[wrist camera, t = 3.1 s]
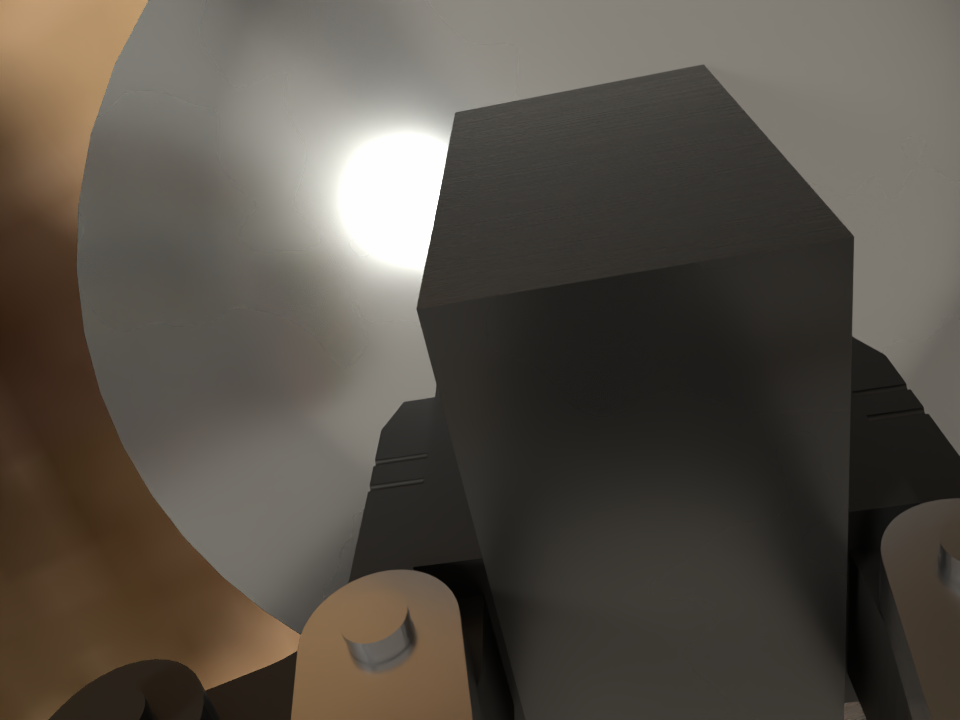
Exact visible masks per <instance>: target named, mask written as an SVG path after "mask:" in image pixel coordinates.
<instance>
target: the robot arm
mask: <svg viewBox="0 0 960 720" xmlns="http://www.w3.org/2000/svg"><path fill="white" fill-rule="evenodd" d="M375 464H376V466H373V471H372V475H371V480H370V491H369V492H368V494H367V498H366V503H365V508H364V512H363V517H362V522H361V526H360V531H359V536H358V540H357V545H356V550H355V554H354V559H353V563H352V568H351V573H350V577H349V582H348V584H347V585H345V586H343V587H341V588H340V589H338V590H337V591H336V592H334V593H333V594H332V595H330V596H329V597H328V598H327V599H326V600H325V601H324V602H322V603H321V604H320V605H319V606H318V608H317V609H316V610H315V611H314V612H313V614H312V615H311V616H310V618H309V620H308V621H307V623H306V625H305V626H304V629H303V631H302V634H301V636H300V640H299V645H298V651H297V652H295V653H293V654H291V655H290V656H288V657H286V658H284V659H283V660H281V661H278V662H276V663H274V664H272V665H270V666H267V667H265V668H262V669H260V670H257V671H255V672H252V673H249V674H247V675H244V676H242V677H239V678H237V679H234V680H232V681H229V682H227V683H224V684H221V685H219V686H216V687H214V688H211V689H209V690H206V691H205V690H204V688H203V686H202V684H201V682H200V681H199V679H198V678H197V676H196V674H195V673H194V672H193V671H192V670H190V669H189V668H188V667H187V666H185V665H183V664H181V663H178V662H174V661H170V660H159V659H154V660H145V661H140V662H136V663H132V664H128V665H125V666H123V667H120V668H117V669H115V670H113V671H111V672H109V673H107V674H105V675H103V676H101V677H99V678H97V679H96V680H94V681H93V682H91V683H89V684H88V685H86V686H85V687H84V688H82V689H81V690H80V691H78V692H77V693H76V694H75V695H73V696H72V697H71V698H70V699H69V700H68V701H67V702H66V703H65V704H64V705H63V706H61V707H60V709H59V710H58V711H57V712H56V713H55V714H54V715H53V716H52V717H51V718H50V719H49V720H526V719H525V716H524V712H523V708H522V704H521V701H520V697H519V693H518V689H517V686H516V682H515V678H514V674H513V671H512V667H511V663H510V659H509V656H508V652H507V648H506V644H505V641H504V637H503V633H502V629H501V625H500V622H499V618H498V614H497V610H496V607H495V603H494V599H493V595H492V592H491V588H490V584H489V580H488V577H487V573H486V569H485V565H484V562H483V558H482V554H481V550H480V547H479V543H478V539H477V535H476V531H475V528H474V524H473V520H472V516H471V513H470V509H469V505H468V501H467V498H466V494H465V490H464V486H463V483H462V479H461V475H460V471H459V468H458V464H457V460H456V456H455V453H454V449H453V445H452V441H451V437H450V434H449V430H448V426H447V422H446V419H445V415H444V411H443V407H442V404H441V400H440V396H439V392H438V389H437V385H436V393H435V397H432V398H426V399H419V400H413V401H406V402H403V404H402V405H401V406H400V407H399V409H398V410H397V411H396V412H395V414H394V415H393V416H392V417H391V419H390V420H389V421H388V422H387V424H386V425H385V426H384V427H383V429H382V430H381V434H380V438H379V443H378V447H377V452H376V457H375ZM849 702H859V703H860V705H861V708H862V710H863V713H864V715H865V718H866V720H960V456H959V454H958V453H957V452H956V450H955V449H954V448H953V446H952V445H951V444H950V442H949V441H948V439H947V438H946V437H945V435H944V434H943V433H942V431H941V430H940V429H939V427H938V426H937V424H936V423H935V422H934V420H933V419H932V418H931V416H930V415H929V414H925V412H924V407H923V405H922V404H921V403H920V401H919V400H918V399H917V397H916V396H915V394H914V393H913V392H912V390H911V389H909V390H908V389H907V385H906V382H905V381H904V379H903V378H902V377H901V375H900V374H899V373H898V371H897V370H896V369H895V367H894V366H893V365H892V363H891V362H890V360H889V359H888V358H887V356H886V355H884V354H883V353H881V352H879V351H877V350H875V349H874V348H872V347H870V346H868V345H867V344H865V343H863V342H861V341H860V340H858V339H856V338H854V337H852V364H851V411H850V459H849V506H848V554H847V602H846V649H845V697H844V703H849Z"/></svg>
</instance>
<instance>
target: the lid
mask: <svg viewBox="0 0 960 720" xmlns="http://www.w3.org/2000/svg"><path fill="white" fill-rule="evenodd" d="M77 277H78V285H79V294H80V302H81V310H82V319H83V327H84V334H85V338H86V342H87V345H88V349H89V353H90V357H91V360H92V364H93V368H94V371H95V375H96V379H97V383H98V386H99V390H100V393H101V396H102V398H103V400H104V403H105V405H106V407H107V410H108V412H109V414H110V417H111V419H112V422H113V424H114V426H115V429H116V431H117V433H118V436H119V438H120V440H121V443H122V445H123V447H124V449H125V451H126V452H127V454H128V456H129V457H130V459H131V461H132V462H133V464H134V466H135V468H136V469H137V471H138V473H139V474H140V476H141V478H142V479H143V481H144V483H145V485H146V486H147V488H148V490H149V491H150V493H151V495H152V496H153V497H154V499H155V500H156V501H157V503H158V504H159V505H160V506H161V508H162V509H163V510H164V512H165V513H166V514H167V516H168V517H169V518H170V519H171V521H172V522H173V523H174V525H175V526H176V527H177V529H178V530H179V531H180V532H181V534H182V535H183V536H184V538H185V539H186V540H187V541H188V542H189V543H190V544H191V545H192V546H193V547H194V548H195V549H196V550H197V551H198V552H199V553H200V554H201V555H202V556H203V557H204V558H205V559H206V560H207V561H208V562H209V563H210V564H211V565H212V566H213V567H214V569H215V570H216V571H217V572H218V573H219V574H220V575H221V576H222V577H223V578H225V579H226V580H227V581H228V582H229V583H231V584H232V585H233V586H234V587H236V588H237V589H238V590H239V591H240V592H242V593H243V594H244V595H245V596H247V597H248V598H249V599H250V600H252V601H253V602H254V603H255V604H256V605H258V606H259V607H260V608H261V609H263V610H264V611H265V612H267V613H268V614H270V615H271V616H273V617H274V618H276V619H277V620H279V621H280V622H282V623H284V624H285V625H287V626H288V627H290V628H291V629H293V630H294V631H296V632H297V633H299V634H300V635H301V634H302V631H303V629H304V626H305V625H306V623H307V621H308V620H309V618H310V616H311V615H312V614H313V612H314V611H315V610H316V609H317V608H318V606H319V605H320V604H321V603H322V602H324V601H325V600H326V599H327V598H328V597H329V596H330V595H332V594H333V593H334V592H336V591H337V590H338V589H340V588H341V587H343V586H345V585H347V584H348V582H349V577H350V573H351V568H352V563H353V559H354V554H355V550H356V545H357V540H358V536H359V531H360V526H361V522H362V517H363V512H364V508H365V503H366V498H367V494H368V492H369V491H370V480H371V475H372V471H373V466H376V464H375V457H376V452H377V447H378V443H379V438H380V434H381V430H382V429H383V427H384V426H385V425H386V424H387V422H388V421H389V420H390V419H391V417H392V416H393V415H394V414H395V412H396V411H397V410H398V409H399V407H400V406H401V405H402V404H403V402H406V401H413V400H419V399H426V398H432V397H435V393H436V385H437V389H438V392H439V396H440V400H441V404H442V407H443V411H444V415H445V419H446V422H447V426H448V430H449V434H450V437H451V441H452V445H453V449H454V453H455V456H456V460H457V464H458V468H459V471H460V475H461V479H462V483H463V486H464V490H465V494H466V498H467V501H468V505H469V509H470V513H471V516H472V520H473V524H474V528H475V531H476V535H477V539H478V543H479V547H480V550H481V554H482V558H483V562H484V565H485V569H486V573H487V577H488V580H489V584H490V588H491V592H492V595H493V599H494V603H495V607H496V610H497V614H498V618H499V622H500V625H501V629H502V633H503V637H504V641H505V644H506V648H507V652H508V656H509V659H510V663H511V667H512V671H513V674H514V678H515V682H516V686H517V689H518V693H519V697H520V701H521V704H522V708H523V712H524V716H525V719H526V720H844V697H845V649H846V602H847V554H848V506H849V459H850V411H851V364H852V337H854V338H856V339H858V340H860V341H861V342H863V343H865V344H867V345H868V346H870V347H872V348H874V349H875V350H877V351H879V352H881V353H883V354H884V355H886V356H887V358H888V359H889V360H890V362H891V363H892V365H893V366H894V367H895V369H896V370H897V371H898V373H899V374H900V375H901V377H902V378H903V379H904V381H905V382H906V385H907V389H908V390H909V389H911V390H912V392H913V393H914V394H915V396H916V397H917V399H918V400H919V401H920V403H921V404H922V405H923V407H924V412H925V414H929V415H930V416H931V418H932V419H933V420H934V422H935V423H936V424H937V426H938V427H939V429H940V430H941V431H942V433H943V434H944V435H945V437H946V438H947V439H948V441H949V442H950V444H951V445H952V446H953V448H954V449H955V450H956V452H957V453H958V454H959V456H960V0H149V1H148V2H147V4H146V6H145V8H144V10H143V12H142V14H141V16H140V18H139V19H138V21H137V23H136V25H135V27H134V29H133V31H132V33H131V35H130V37H129V38H128V40H127V42H126V44H125V46H124V48H123V50H122V52H121V54H120V56H119V57H118V59H117V61H116V63H115V66H114V69H113V72H112V75H111V78H110V81H109V84H108V86H107V89H106V92H105V95H104V98H103V101H102V104H101V107H100V110H99V113H98V116H97V118H96V121H95V124H94V127H93V130H92V133H91V138H90V143H89V149H88V154H87V160H86V165H85V171H84V176H83V182H82V187H81V193H80V198H79V206H78V242H77Z"/></svg>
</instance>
